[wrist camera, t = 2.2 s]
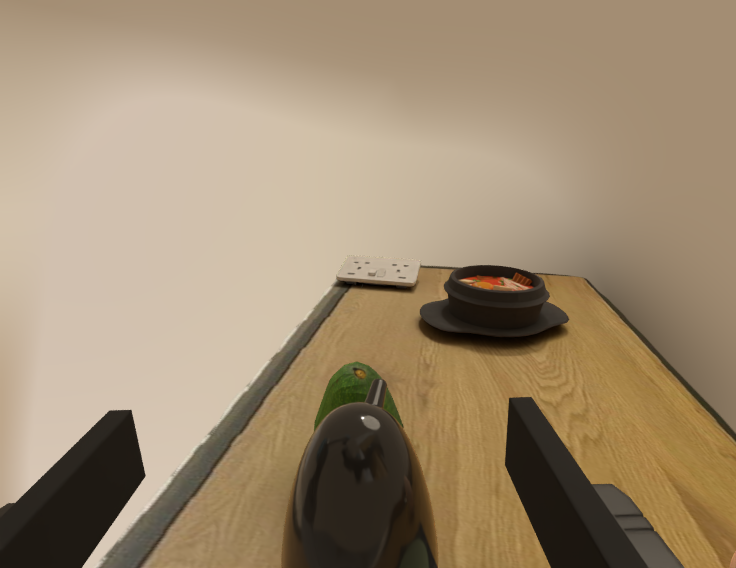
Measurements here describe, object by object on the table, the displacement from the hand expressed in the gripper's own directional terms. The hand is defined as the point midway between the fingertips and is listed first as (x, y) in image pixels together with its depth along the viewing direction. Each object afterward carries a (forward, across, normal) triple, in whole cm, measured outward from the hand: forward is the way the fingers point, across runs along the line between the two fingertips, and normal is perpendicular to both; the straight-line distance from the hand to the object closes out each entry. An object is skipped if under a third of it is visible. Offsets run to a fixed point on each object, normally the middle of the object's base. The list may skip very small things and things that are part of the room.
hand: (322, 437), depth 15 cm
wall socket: (+79, +4, -17) cm, 81 cm away
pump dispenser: (+10, 0, -20) cm, 22 cm away
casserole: (+56, +22, -19) cm, 64 cm away
